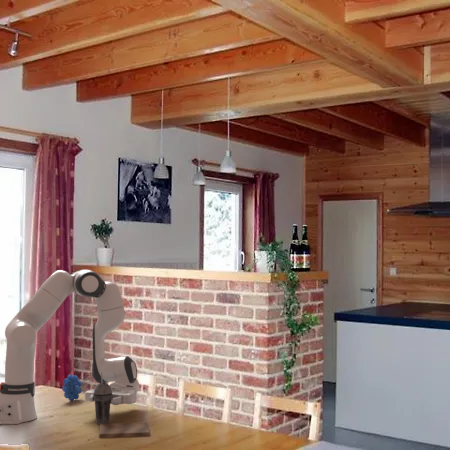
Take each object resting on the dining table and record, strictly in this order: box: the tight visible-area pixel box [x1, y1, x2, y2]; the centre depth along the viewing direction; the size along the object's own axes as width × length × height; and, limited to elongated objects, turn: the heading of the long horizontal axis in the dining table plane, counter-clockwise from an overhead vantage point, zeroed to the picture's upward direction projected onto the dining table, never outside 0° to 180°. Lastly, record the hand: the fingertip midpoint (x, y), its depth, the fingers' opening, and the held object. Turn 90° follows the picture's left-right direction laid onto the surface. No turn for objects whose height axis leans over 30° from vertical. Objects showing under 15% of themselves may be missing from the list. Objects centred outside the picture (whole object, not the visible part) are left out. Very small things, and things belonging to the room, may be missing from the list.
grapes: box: [61, 374, 83, 402], centre depth 299 cm, size 12×7×12 cm, turn 150°
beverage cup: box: [94, 372, 112, 426], centre depth 262 cm, size 7×7×20 cm
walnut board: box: [98, 422, 150, 438], centre depth 250 cm, size 18×14×1 cm
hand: (101, 400), depth 261 cm, fingers open, 8 cm apart
